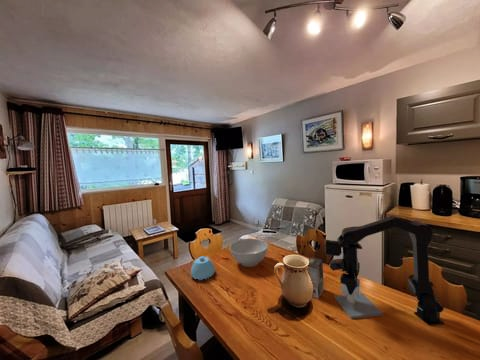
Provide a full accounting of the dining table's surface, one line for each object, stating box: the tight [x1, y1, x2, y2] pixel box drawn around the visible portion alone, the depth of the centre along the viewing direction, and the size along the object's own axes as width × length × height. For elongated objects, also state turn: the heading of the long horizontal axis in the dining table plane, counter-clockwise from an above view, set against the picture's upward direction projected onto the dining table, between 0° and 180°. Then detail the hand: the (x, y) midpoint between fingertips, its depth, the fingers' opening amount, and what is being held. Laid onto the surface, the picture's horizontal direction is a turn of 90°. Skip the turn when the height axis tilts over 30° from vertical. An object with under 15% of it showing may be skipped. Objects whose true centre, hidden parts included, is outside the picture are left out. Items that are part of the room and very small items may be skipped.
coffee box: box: [307, 256, 325, 299], centre depth 100 cm, size 9×6×16 cm
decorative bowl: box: [229, 238, 269, 268], centre depth 136 cm, size 27×27×12 cm
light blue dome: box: [190, 255, 216, 281], centre depth 125 cm, size 15×15×12 cm
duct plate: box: [334, 293, 384, 320], centre depth 89 cm, size 14×13×6 cm
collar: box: [340, 278, 361, 299], centre depth 90 cm, size 7×7×5 cm
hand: (351, 289), depth 90 cm, fingers closed on collar, 7 cm apart
